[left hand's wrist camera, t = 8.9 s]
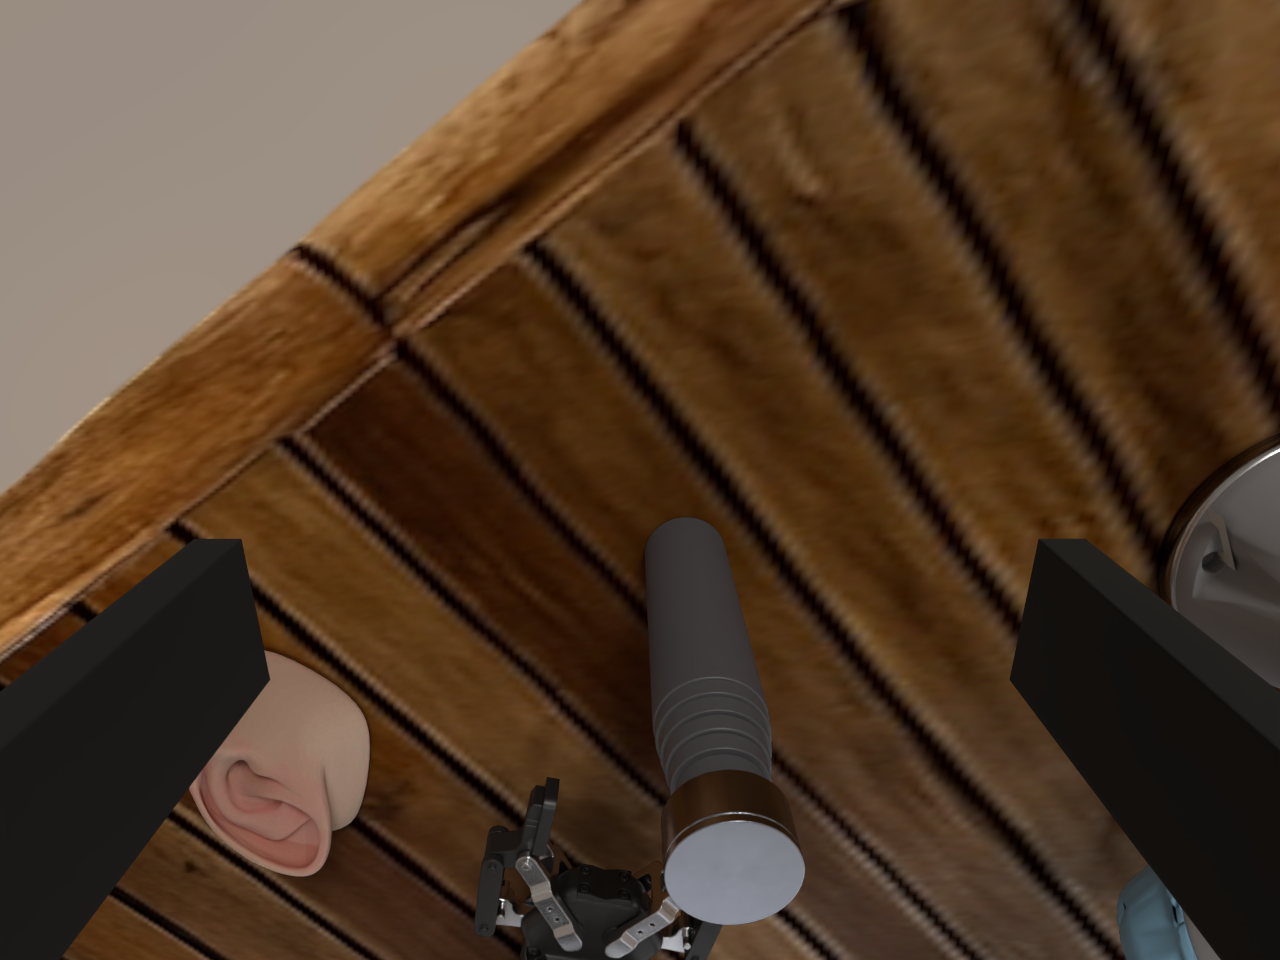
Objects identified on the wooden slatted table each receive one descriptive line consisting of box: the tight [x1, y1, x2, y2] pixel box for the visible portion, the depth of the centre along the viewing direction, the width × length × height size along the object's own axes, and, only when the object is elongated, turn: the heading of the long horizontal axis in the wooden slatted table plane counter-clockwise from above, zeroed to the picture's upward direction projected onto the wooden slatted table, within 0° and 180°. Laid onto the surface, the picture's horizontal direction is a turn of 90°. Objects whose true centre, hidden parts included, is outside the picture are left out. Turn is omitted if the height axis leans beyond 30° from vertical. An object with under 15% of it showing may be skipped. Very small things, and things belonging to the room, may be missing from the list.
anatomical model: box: [189, 650, 370, 876], centre depth 46 cm, size 13×4×12 cm
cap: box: [661, 769, 805, 925], centre depth 24 cm, size 4×4×2 cm
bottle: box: [645, 517, 772, 796], centre depth 34 cm, size 5×5×21 cm
